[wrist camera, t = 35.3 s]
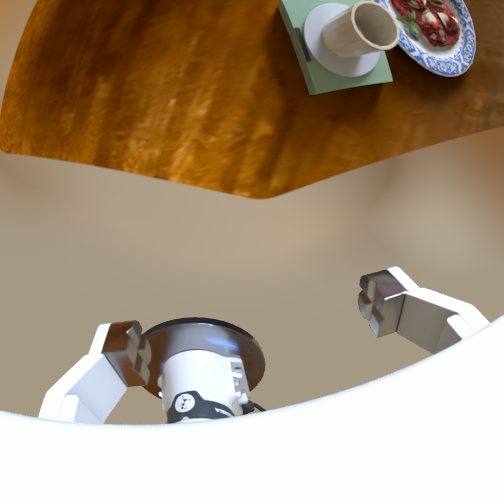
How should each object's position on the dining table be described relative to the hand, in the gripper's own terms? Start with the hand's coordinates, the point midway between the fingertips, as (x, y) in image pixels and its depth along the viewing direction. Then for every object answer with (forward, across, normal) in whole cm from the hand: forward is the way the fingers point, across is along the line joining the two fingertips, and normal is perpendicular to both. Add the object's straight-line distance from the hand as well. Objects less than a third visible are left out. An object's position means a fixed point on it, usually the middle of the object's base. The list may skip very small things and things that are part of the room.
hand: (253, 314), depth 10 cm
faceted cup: (+27, +18, +16) cm, 36 cm away
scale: (+30, +18, +16) cm, 38 cm away
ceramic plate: (+30, +37, +25) cm, 54 cm away
